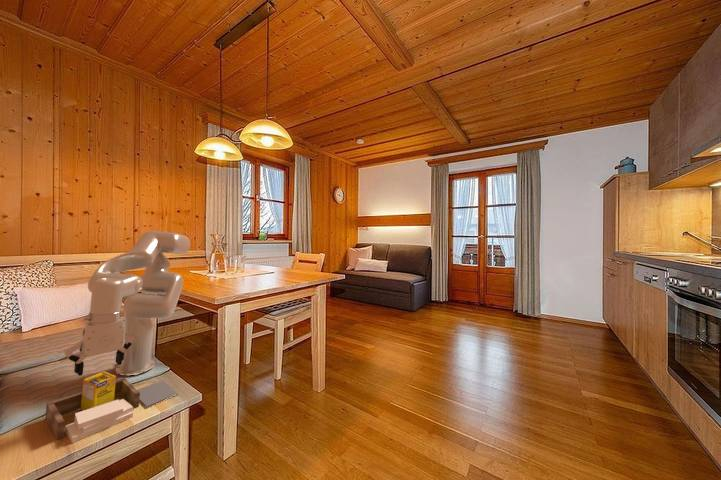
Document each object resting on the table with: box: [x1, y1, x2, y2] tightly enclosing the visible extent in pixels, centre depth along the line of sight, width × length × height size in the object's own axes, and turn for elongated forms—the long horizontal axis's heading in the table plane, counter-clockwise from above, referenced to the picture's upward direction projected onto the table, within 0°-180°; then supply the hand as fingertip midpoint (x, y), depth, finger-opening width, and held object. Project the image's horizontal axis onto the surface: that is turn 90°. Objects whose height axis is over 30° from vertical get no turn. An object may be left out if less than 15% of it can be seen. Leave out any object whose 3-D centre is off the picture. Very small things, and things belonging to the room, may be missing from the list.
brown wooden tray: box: [45, 377, 140, 441], centre depth 90 cm, size 13×19×5 cm, turn 149°
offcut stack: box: [64, 398, 134, 444], centre depth 86 cm, size 8×14×4 cm, turn 149°
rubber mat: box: [136, 379, 179, 409], centre depth 102 cm, size 12×10×1 cm
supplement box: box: [80, 370, 117, 412], centre depth 91 cm, size 6×6×11 cm
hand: (99, 368), depth 90 cm, fingers open, 9 cm apart
